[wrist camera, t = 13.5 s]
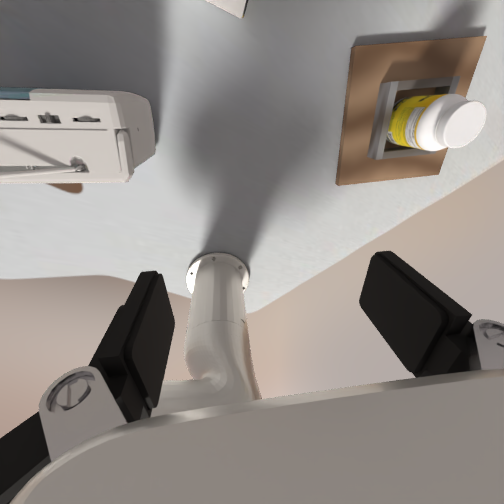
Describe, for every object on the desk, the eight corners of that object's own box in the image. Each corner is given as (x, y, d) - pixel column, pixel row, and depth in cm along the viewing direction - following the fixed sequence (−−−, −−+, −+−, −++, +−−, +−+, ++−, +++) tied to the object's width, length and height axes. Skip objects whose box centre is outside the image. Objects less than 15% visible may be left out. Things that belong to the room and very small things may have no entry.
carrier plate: (433, 172, 41) (450, 178, 38) (335, 183, 40) (345, 190, 37) (478, 38, 32) (506, 30, 29) (351, 47, 31) (366, 41, 28)
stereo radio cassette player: (151, 94, 31) (68, 79, 14) (162, 160, 35) (109, 208, 18) (-25, 89, 29) (-375, 62, 12) (10, 159, 33) (-210, 214, 16)
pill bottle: (428, 100, 34) (507, 98, 25) (408, 146, 37) (470, 159, 28) (392, 92, 33) (459, 86, 24) (373, 140, 36) (427, 151, 27)
